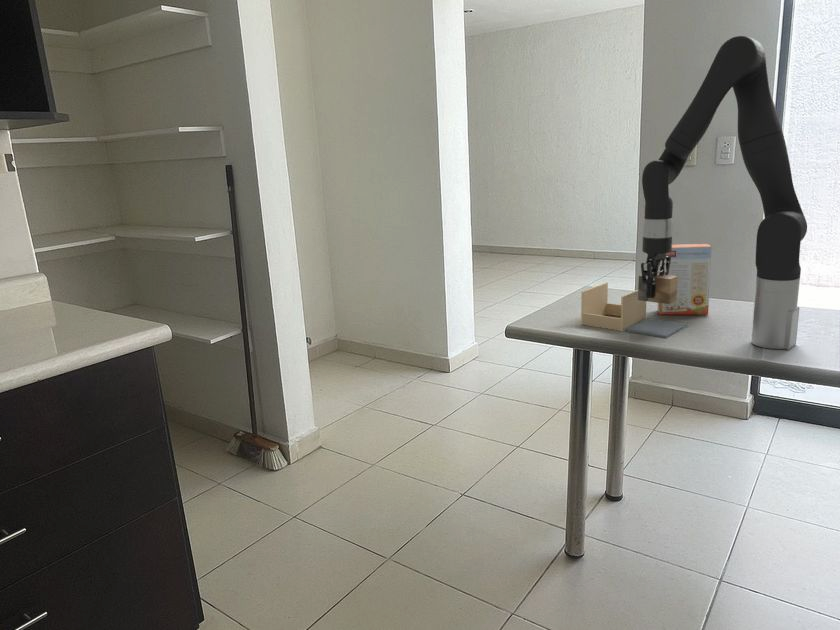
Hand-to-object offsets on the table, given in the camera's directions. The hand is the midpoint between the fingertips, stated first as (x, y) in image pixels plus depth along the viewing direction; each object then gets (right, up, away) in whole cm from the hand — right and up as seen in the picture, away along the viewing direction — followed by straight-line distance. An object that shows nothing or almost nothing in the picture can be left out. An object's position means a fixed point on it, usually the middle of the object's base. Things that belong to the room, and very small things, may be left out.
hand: (654, 295), depth 169 cm
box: (+1, -1, 0) cm, 2 cm away
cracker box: (+15, -5, +16) cm, 22 cm away
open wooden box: (-8, -8, +11) cm, 16 cm away
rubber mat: (+1, -9, +2) cm, 10 cm away
